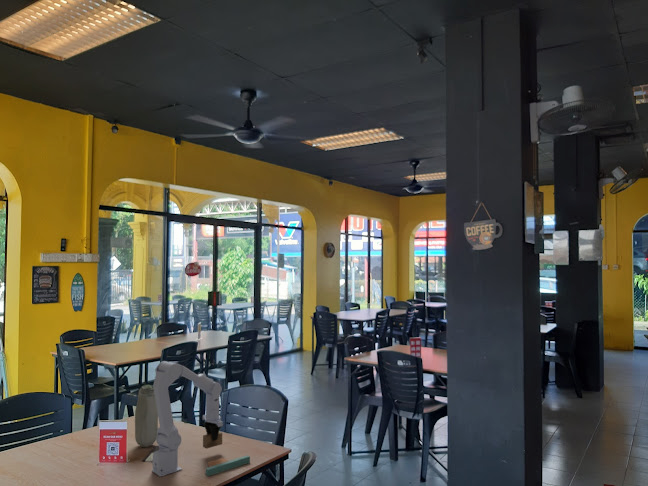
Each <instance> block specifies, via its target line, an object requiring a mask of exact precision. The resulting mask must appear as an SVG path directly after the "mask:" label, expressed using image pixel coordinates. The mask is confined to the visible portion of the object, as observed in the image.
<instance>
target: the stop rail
mask: <svg viewBox="0 0 648 486" xmlns="http://www.w3.org/2000/svg"><path fill="white" fill-rule="evenodd" d="M249 463H251V457H250V455H244V456H241V457H236V458H235V459H231V460H228V461H227V462H224V463H221V464H218V465H215V466H211V467H209V466H208V467H205V475H206V476H207V477H211V476H213V475H217V474H219V473H222V472H226V471H228V470H231V469H234V468H236V467H237V468H238V467H241V466H243V465H246V464H249Z"/></svg>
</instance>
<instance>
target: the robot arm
mask: <svg viewBox="0 0 648 486" xmlns="http://www.w3.org/2000/svg"><path fill="white" fill-rule="evenodd" d="M154 371H155V376H154V381H153V385H152V386H153V388H154V394H155V400H156V406H157V412H158V422H159V423H158V425H159V426H158V429H157V437H156V441H155V442H156V444H158V446H159V448H160V449H159V450H158V451H156V452H154V453H153V462H152V469H151V472H153V473H154V474H155V475H158V476H159V477H163V476H166V475H169V474H173V473H176V472H179V471H181V470H182V468H181V467H180V466H178V461H179V460H178V459H179V456H178V455H179V454H178V453H179V452H178V450H179V447H180V446H181V444H182V437H181V435H180V433H179V430H178V428H177V427H176V425H175V423H174V416H173V412H172V407H171V400H170V392H169V387H170V386H171V385H172V384H173V383H174V382H175V381H177V380H178V379H179V377H183V378H186V379H188V380H189V381H192V383H193V384H192V385H193V386H194V387H197V388H198V389H200V390H201V391H203V393H204V394H205V414H203V415H202V421H205V422H202V426H203V427H204V428H205V433H206V435H207V434H211V438H212V441H215V440H217V437H218V433H219V432H220V430H221V429H222V427H223V426H224V424H223V423H224V421H222V420H221V419H222V417H221V416H220V395H221V392H222V389H223V388H222V386H221V383H220V382H218V381H214V379H213V378H212V377H211V378H209V377H207V374H206V373H198V374H196V373H195V372H194V371H192V370H190V369H189V368H187V367H186V366H184V365H182V364H180V363H178V362H177V363H175V362H170V361H166V360H163V361H161V362H159V364H157V366H156V367H155V369H154Z"/></svg>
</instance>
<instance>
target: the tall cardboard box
mask: <svg viewBox="0 0 648 486" xmlns="http://www.w3.org/2000/svg"><path fill="white" fill-rule="evenodd" d="M220 445H221V446H222V445H223V432H221V431H219V433H218V437H217V440H215V441H212V438H211V434H207V433H206V434H203V435H202V448H203V449H210V448H213V447H217V446H220Z"/></svg>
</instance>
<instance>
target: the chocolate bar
mask: <svg viewBox="0 0 648 486" xmlns="http://www.w3.org/2000/svg"><path fill="white" fill-rule="evenodd" d="M159 449H160V448H159V445H154V446H153V447H152V448H151V450H150V451H149V452H148V453H147V455H146V456H145V457H144V458H143V459H142V460H141V462H142V463H147V462H148V463H150V462H151V463H153V453H154V452H156V451H158V450H159Z"/></svg>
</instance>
